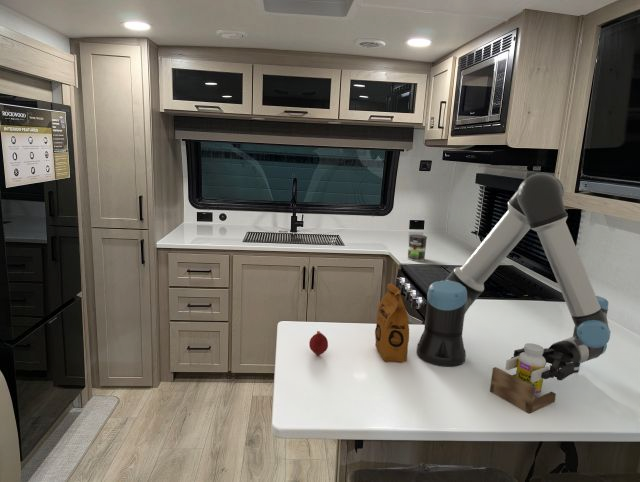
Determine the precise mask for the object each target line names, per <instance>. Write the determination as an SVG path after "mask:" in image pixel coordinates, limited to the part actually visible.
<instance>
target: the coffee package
mask: <svg viewBox="0 0 640 482" xmlns="http://www.w3.org/2000/svg"><path fill="white" fill-rule="evenodd" d="M386 288H387V289H388V290H387V292H386V293H385V294H384V296H383V297H382V299H381V301H380V302H379V303H378V306H377V314H376V316H377V317H376V325H375V330H374V337H375V344H374V346H375V347H376V349H377V351H378V353H379V355H380V356H381V358H382V359H383V361H384V362H390V363H391V362H392V363H396V362H397V363H405V362H407V360H408V359H407V358H408V349H409V348H408V347H409V342H410V341H409V340H410V327H409V317H408V312H407V309H406V306H405V303H404V302H403V301H404V300H403V297H402V293H401V291H400V290H401V289H399V288H398V287H397V286H396V285H394V284H393V283H391V282H390V283H388V284H387V286H386Z"/></svg>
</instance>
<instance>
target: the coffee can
mask: <svg viewBox="0 0 640 482" xmlns="http://www.w3.org/2000/svg"><path fill="white" fill-rule="evenodd" d="M408 237H409V239H408V249H407V250H408V251H407V259H408V260H410V261H414V262H423V261H425V256H426V249H427V238H428V236H426V235H422V234H410V235H409V236H408Z"/></svg>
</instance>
